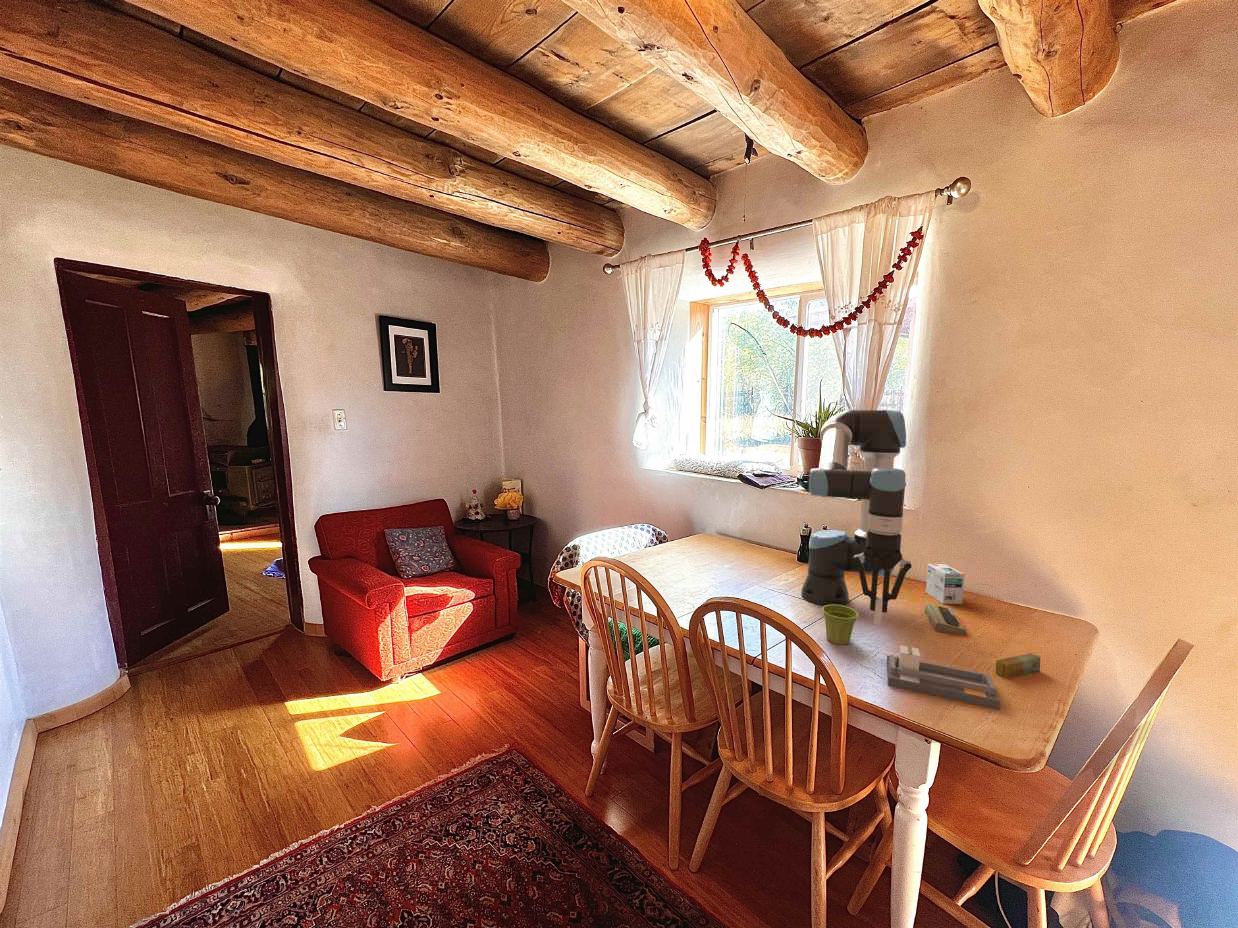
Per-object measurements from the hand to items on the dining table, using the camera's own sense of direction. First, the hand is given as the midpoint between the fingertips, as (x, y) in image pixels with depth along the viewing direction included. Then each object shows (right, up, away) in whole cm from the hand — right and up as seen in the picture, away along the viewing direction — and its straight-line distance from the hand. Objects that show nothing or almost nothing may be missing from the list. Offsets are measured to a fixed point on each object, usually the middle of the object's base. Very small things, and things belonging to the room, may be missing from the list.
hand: (877, 623), depth 128 cm
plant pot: (-2, -11, +18) cm, 21 cm away
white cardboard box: (+7, -11, -2) cm, 13 cm away
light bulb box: (+48, -7, +50) cm, 69 cm away
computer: (+36, -10, +31) cm, 48 cm away
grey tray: (+13, -13, -4) cm, 19 cm away
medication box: (+36, -13, +2) cm, 38 cm away
